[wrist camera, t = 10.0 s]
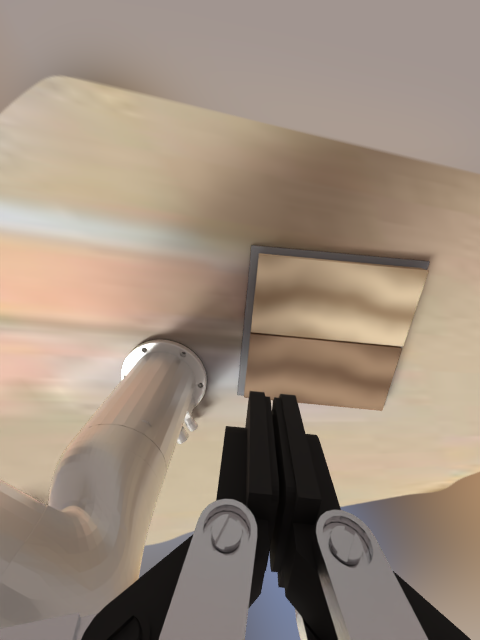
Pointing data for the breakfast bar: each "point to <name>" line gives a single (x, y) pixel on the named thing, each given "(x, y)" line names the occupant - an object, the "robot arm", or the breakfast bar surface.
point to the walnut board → (321, 370)
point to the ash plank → (335, 299)
